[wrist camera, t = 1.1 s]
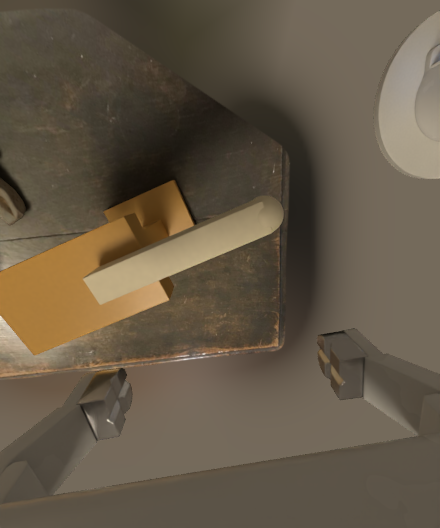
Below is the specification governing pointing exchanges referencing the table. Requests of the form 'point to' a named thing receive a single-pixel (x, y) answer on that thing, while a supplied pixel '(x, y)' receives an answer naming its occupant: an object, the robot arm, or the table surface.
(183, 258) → the switch rod
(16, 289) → the desk lamp
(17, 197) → the sculpture
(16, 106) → the table surface
